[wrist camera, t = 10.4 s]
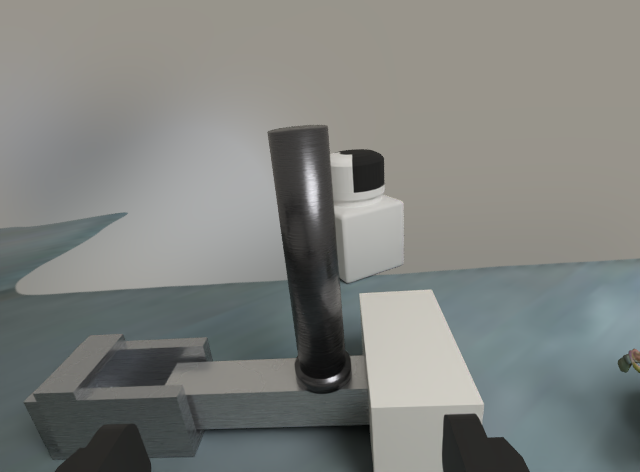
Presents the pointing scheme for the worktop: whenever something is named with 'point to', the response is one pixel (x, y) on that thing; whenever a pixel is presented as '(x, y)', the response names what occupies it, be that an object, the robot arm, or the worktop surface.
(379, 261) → the container
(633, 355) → the passion flower
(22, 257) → the worktop surface
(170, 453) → the sleeve
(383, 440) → the socket block
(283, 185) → the tube
